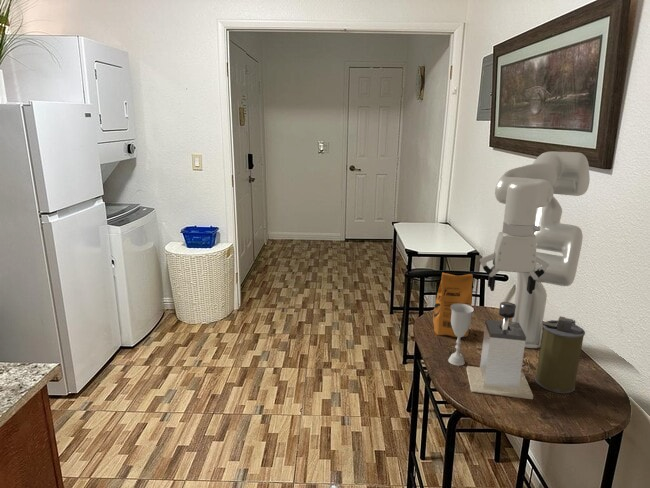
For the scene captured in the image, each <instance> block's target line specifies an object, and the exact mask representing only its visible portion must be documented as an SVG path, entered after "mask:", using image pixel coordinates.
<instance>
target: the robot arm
mask: <svg viewBox="0 0 650 488" xmlns="http://www.w3.org/2000/svg"><path fill="white" fill-rule="evenodd" d="M590 179H591V178H590V165H589V161H588V158H587V157H586V155H585V154H583V153H582V152H575V151H574V152H572V151H546V152H543V153H540V155H538V157H537V158H535V160H534V161H533V163H531V164H527V165H522V166H519V167H515V168H511V169H509V170H506V171H505V172H504V173H503V174H502V175H501V177H500V178H499V179H498V181H497V183H496V186H495V189H494V195H495V198H496V201H498V202H499V204H500V203H501V204H502V205H505V207H504V215H503V222H502V229H501V231H500V232H498V234H497V237H496V240H495V241H496V242H495V245H494V250H493V253H491V254H489V255H486V256H483V257H480V259H479V262H480V264H481V266H482V269H483V270H484V272H485V273H486V274H487V275H488V279H487V287H488V288H489V290H490V291H491V292H494V291H495V287H496V274H498V273H499V272H506V273H507V272H508V273H509V272H510V273H516V290H515V298H514V303H513V304H515V305H516V310H515V316H514V317H513V318H511V319H512V320H511V322H516V323H519V324H520V326H521V328H522V330H523V332H524V334H525V336H526V341H525V348H527V349H537V348H539V349H540V346H541V339H542V332H543V324H541V323H542V321H543V322H544V317H545V311H546V304H547V295H548V294H547V290H546V288H545V287H544V285H543V284H544V283H545V284H548V285H549V284H550V285H555V286H560V287H569V286H572V284H573V283H574V281H575V277H576V274H577V270H578V269H577V268H578V264H579V259H580V256H581V250H582V245H583V238H584V237H583V231H582V229H581V227H579V226H577V225H574V224H568V223H567V224H566V223H561V219H562V214H563V208H562V206H561V204H560V202H559V201H558V200H557V199H556V197H555V196H554V195H560V196H574V197H579V196H583V195H584V194H585V193H587V191H588V189H589V186H590ZM537 250H542V251H548V252H555V253H561V254H562V255H557V254H550V253H545V252H540V251H537ZM491 261H492V266H491V267H489V266H488V265H487V263H489V262H491ZM540 328H541V331H540ZM539 335H540V337H539ZM538 341H539V344H538Z"/></svg>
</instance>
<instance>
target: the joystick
mask: <svg viewBox="0 0 650 488" xmlns="http://www.w3.org/2000/svg"><path fill="white" fill-rule="evenodd" d="M502 326H503V320H493V319H485V321H484V331H483V340H482V346H481V347H482V348H481V354H480V356H481V357H480V364H479V366H472V365H471V366H470V365H467V366H466V368H465V369H466V373H467V377H468V378H467V379H468V383H469V388H470V392H471V393H480V394H486V395H494V396H501V397H502V396H503V397H511V398H519V399H526V400H527V399H528V400H533V399H534V394H533V391H532V389H531V388H530V385H529V383H528V380H527V378H526V376H525V374H524V372H522V369H523V360H524V353H525V348H526V347H525V341H526V336H525V334H524V332H523V330H522V328H521V326H520V324H519V323H516V322H512V321H509V323H508V330H503V329H502Z"/></svg>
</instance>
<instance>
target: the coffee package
mask: <svg viewBox="0 0 650 488" xmlns="http://www.w3.org/2000/svg"><path fill="white" fill-rule="evenodd" d="M473 276H474V275H473V273H470V274H463V275H455V274H450V273H447V272H446V273H445V272H442V273H441V280H440V283H439V287H438V289H437V290H438V291H437V293H436V299H435V304H434V308H433V314H432V315H433V316H432V317H433V318H432V323H433V327H434V328H433V331H434V333H435V334H436V335H437V336H450V337H453V338H457V336H456V335H455V334H454V331H453V328H452V325H451V314H452V310H451V305H452V304H457V303H459V304H466V305H469V306H471V307H472V302H473V283H474V277H473ZM469 333H470V328H469V329H468V330H467V332H466V333H465V335H464V336H463V337H468V336H469ZM463 337H462V338H463Z"/></svg>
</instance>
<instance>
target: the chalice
mask: <svg viewBox="0 0 650 488" xmlns="http://www.w3.org/2000/svg"><path fill="white" fill-rule="evenodd" d="M451 310H452V314H451V325H452V328H453V331H454V334H455V335H456V336H457V337H456V338H457V339H456V341H455V343H456V345H455V346H454V348H455V350H456V351H455V352H452V353H451V355H450V356H449V358H448V359H447V361H448V363H450V364H451V365H454V366H459V367H460V366H464V365H465V363H466V362H465V358H464V356H463V355H462V353H460V350H461V349H462V348H461V343H462V341H461V338H463V336H464V335H465V333H466V332H467V330H468V329H469V330H470V327H471V321H472V313H474V307H472V305H471V306H469V305H466V304H459V303H457V304H452V305H451Z"/></svg>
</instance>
